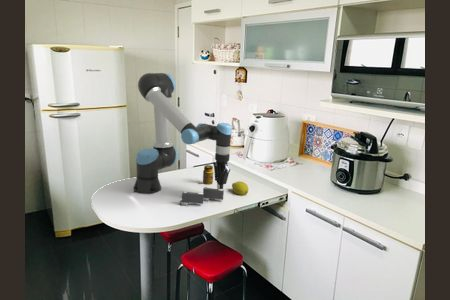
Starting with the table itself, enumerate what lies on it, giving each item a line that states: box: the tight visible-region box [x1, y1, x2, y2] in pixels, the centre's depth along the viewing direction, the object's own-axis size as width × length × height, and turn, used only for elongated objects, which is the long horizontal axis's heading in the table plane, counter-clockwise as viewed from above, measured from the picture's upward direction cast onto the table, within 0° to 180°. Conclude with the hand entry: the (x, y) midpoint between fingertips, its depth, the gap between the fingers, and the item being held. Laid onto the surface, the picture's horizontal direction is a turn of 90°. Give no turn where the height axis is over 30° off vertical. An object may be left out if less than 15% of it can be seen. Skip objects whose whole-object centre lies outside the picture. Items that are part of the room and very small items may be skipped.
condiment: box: [197, 164, 214, 186], centre depth 195 cm, size 7×8×12 cm
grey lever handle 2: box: [202, 187, 225, 202], centre depth 172 cm, size 12×5×6 cm, turn 81°
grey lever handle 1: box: [179, 190, 204, 207], centre depth 165 cm, size 12×5×6 cm, turn 87°
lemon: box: [231, 180, 249, 196], centre depth 184 cm, size 11×8×8 cm
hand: (219, 194), depth 174 cm, fingers closed
